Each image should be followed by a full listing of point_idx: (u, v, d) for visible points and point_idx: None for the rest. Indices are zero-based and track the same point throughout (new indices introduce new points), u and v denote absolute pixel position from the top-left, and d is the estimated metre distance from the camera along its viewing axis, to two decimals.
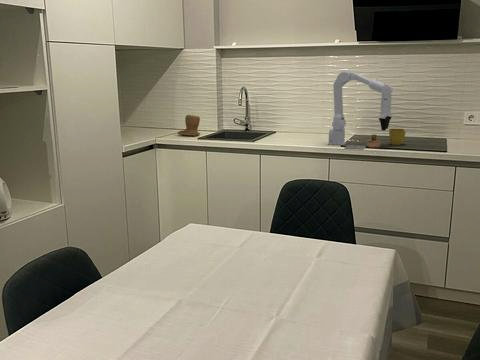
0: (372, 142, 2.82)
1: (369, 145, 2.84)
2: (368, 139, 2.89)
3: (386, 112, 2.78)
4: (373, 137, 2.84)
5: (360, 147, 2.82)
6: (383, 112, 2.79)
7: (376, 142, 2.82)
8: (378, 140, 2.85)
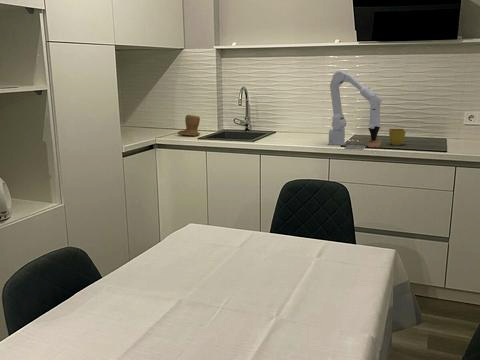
0: (372, 142, 2.82)
1: (369, 145, 2.84)
2: (368, 139, 2.89)
3: (375, 122, 2.81)
4: None
5: (360, 147, 2.82)
6: (372, 122, 2.81)
7: (376, 142, 2.82)
8: (378, 140, 2.85)
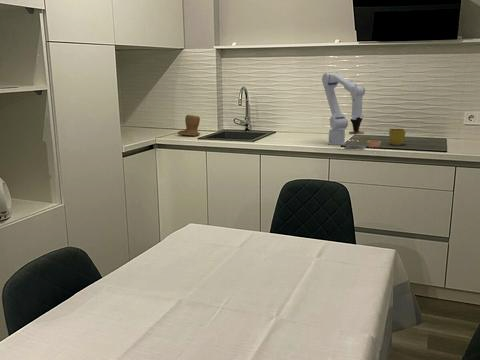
0: None
1: (369, 145, 2.84)
2: None
3: (357, 113, 2.76)
4: None
5: (360, 147, 2.82)
6: (354, 113, 2.77)
7: None
8: (361, 132, 2.81)
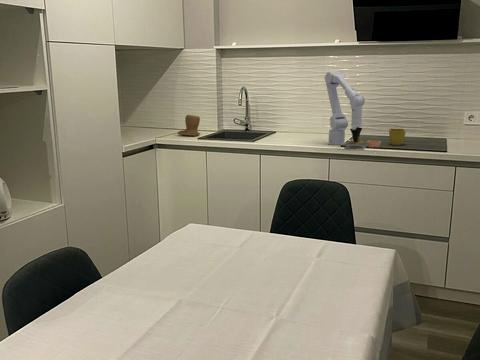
0: None
1: (369, 145, 2.84)
2: (350, 141, 2.86)
3: (357, 123, 2.78)
4: None
5: (360, 147, 2.82)
6: (354, 123, 2.78)
7: (359, 143, 2.79)
8: (360, 141, 2.82)
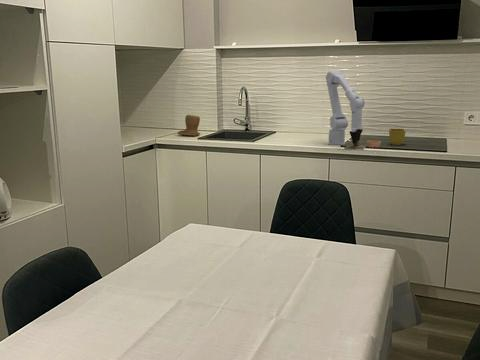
0: None
1: (369, 145, 2.84)
2: (350, 145, 2.86)
3: (356, 125, 2.78)
4: None
5: None
6: (354, 125, 2.79)
7: None
8: (360, 146, 2.82)
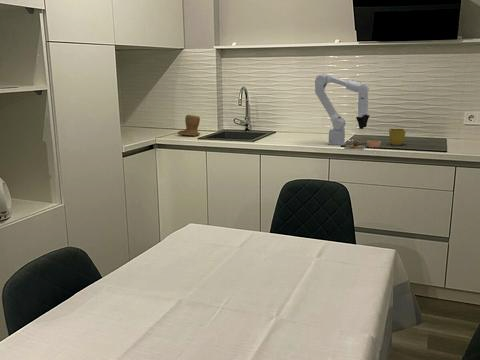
0: None
1: (369, 145, 2.84)
2: (350, 145, 2.86)
3: (363, 111, 2.85)
4: (355, 143, 2.82)
5: None
6: (360, 111, 2.85)
7: None
8: (360, 146, 2.82)
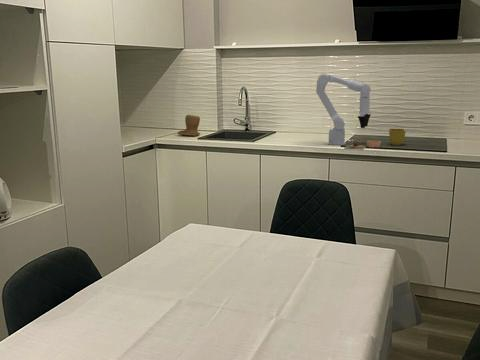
0: None
1: (369, 145, 2.84)
2: (350, 145, 2.86)
3: (365, 110, 2.88)
4: (355, 143, 2.82)
5: None
6: (362, 110, 2.88)
7: None
8: (360, 146, 2.82)
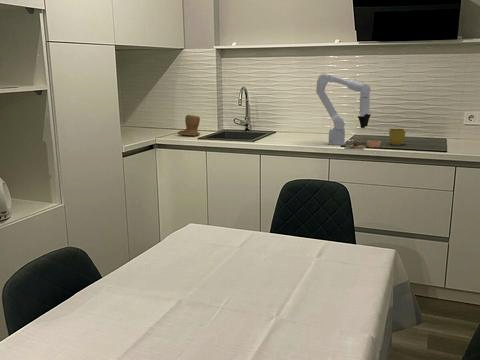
0: None
1: (369, 145, 2.84)
2: (350, 145, 2.86)
3: (365, 110, 2.88)
4: (355, 143, 2.82)
5: None
6: (362, 110, 2.88)
7: None
8: (360, 146, 2.82)
